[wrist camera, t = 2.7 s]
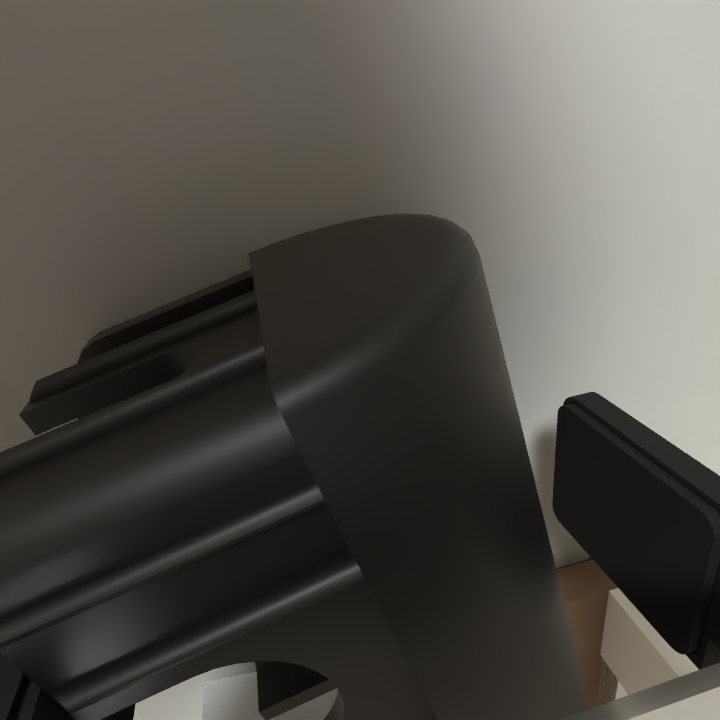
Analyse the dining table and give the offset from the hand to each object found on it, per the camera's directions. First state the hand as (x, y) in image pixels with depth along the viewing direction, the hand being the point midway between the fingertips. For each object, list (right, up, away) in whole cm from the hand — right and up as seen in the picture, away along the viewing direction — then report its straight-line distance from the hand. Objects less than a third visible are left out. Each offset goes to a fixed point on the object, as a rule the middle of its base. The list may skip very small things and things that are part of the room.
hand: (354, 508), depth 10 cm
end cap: (-1, +1, +2) cm, 3 cm away
